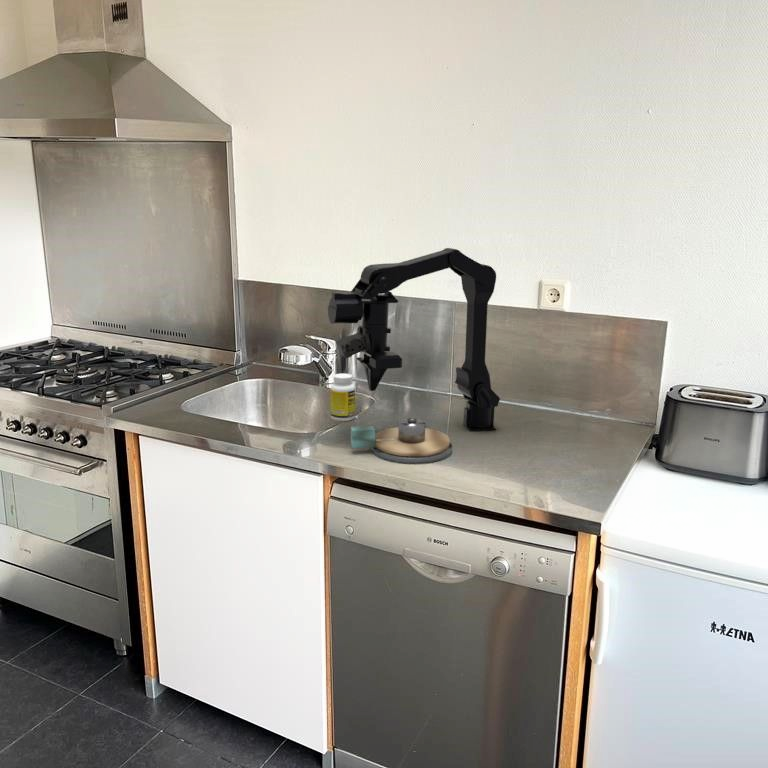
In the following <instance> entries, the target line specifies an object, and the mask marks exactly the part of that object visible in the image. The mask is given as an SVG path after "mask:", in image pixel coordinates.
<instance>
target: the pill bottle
mask: <svg viewBox="0 0 768 768" xmlns="http://www.w3.org/2000/svg"><path fill="white" fill-rule="evenodd" d="M352 382H353V375H352V374H350V373H336V374H334V375H333V383H332V384H331V386H330V418H331V419H332V420H333V421H337V422H348V421H352V420H354V419H355V417H356V385H355V384H354V383H352Z"/></svg>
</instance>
